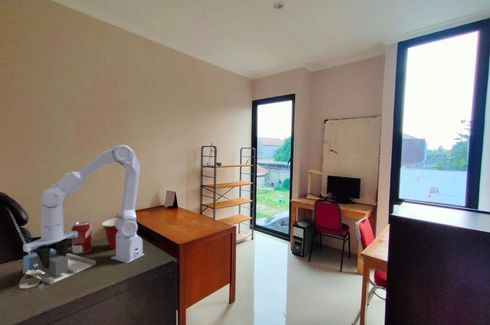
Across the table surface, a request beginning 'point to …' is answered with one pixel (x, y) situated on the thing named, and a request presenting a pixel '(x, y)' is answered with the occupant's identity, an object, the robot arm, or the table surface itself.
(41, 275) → the sliding block fixture
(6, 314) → the table surface
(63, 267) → the grey rectangular block
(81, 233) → the soda can
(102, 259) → the table surface
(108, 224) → the plastic cup
